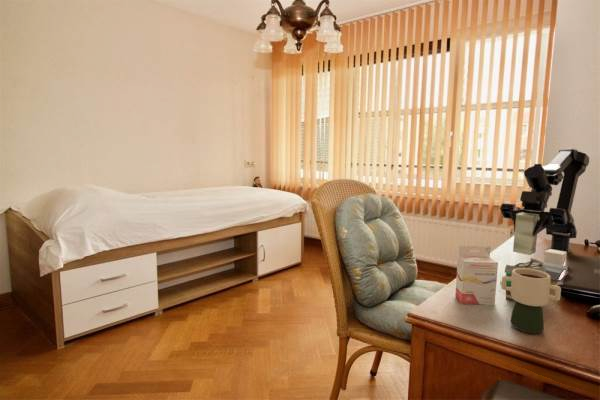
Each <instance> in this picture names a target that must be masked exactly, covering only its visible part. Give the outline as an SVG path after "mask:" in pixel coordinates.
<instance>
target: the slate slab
mask: <svg viewBox="0 0 600 400" xmlns="http://www.w3.org/2000/svg"><path fill="white" fill-rule="evenodd" d="M540 261H541V260H540ZM541 262H542V263H543V264H544V266H545V269H546V273H547V274H549V275H550V277H551V281H552V280H553V281H557V282H559V281H558V279H559V277H560V275H561V273H562V272H563V271H564V270H566V266H567V265H565V266H562V265H557V264H552V263H547V262H544V261H541Z"/></svg>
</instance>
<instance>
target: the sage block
mask: <svg viewBox="0 0 600 400" xmlns="http://www.w3.org/2000/svg"><path fill="white" fill-rule="evenodd" d="M538 221H539V214H532V213H524V212H521V213H518V214H516V223H515V232H514V238H513V247H512V252H514V253H517V254H523V255H527V256H531V255H533V254H535V253H536V250H537V239H538V234H537V235H535V236H533V232H534V229H535V227H536V225H537V223H538Z"/></svg>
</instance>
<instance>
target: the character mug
mask: <svg viewBox="0 0 600 400" xmlns="http://www.w3.org/2000/svg"><path fill="white" fill-rule="evenodd" d="M501 280H502V283H501V284H500V285H501V286H500V287H501V289H502V290H503V291H506V290H507V291H511V297H512V299H514V300H515V301H516V302H514V304H513V308H512V311H511V316H510V321H509V322H510V324H511V325H512V326H513V327H514V328H516V329H517V330H520V331H522V332H526V333H530V334H532V333H533V334H534V333H535V334H537V333H541V332H542V331H544V330H545V322H544V311H543V308H542V307H543V306H546V305H547V304H548V302H549V301H550V300H551V301H560V300H561V293H562V287H561V286H559V285H554V284H551V281H552V280H551V277H550V275H549V274H547V273H545V272H542V271H539V270H535V269H528V268H517V269H514V270H512V277H507V276H506V275H503V276H501ZM507 281H511V287H507V286H506V282H507ZM551 290H554V295H552V294H550V291H551Z"/></svg>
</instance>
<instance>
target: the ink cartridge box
mask: <svg viewBox="0 0 600 400" xmlns="http://www.w3.org/2000/svg"><path fill="white" fill-rule="evenodd" d="M473 250H476V251H473ZM456 263H457V264H456V266H457V267H456V281H455V298H456V299H457V300H458V301H459V303H460V304H463V305H464V304H465V305H481V306H482V305H484V306H485V305H487V306H495V305H496V293H497V280H498V279H497V278H498V269H499V262H498V261H497V260H496V259H494V258H492V257H491V246H490V245H459V249H458V256H457V262H456Z"/></svg>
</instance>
